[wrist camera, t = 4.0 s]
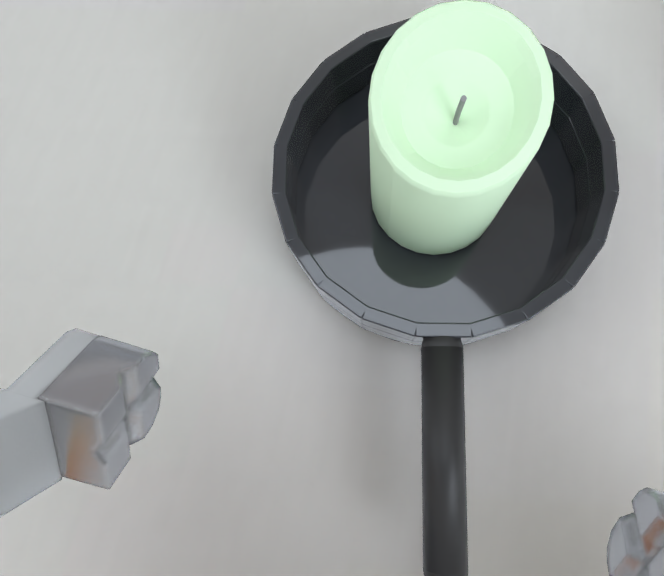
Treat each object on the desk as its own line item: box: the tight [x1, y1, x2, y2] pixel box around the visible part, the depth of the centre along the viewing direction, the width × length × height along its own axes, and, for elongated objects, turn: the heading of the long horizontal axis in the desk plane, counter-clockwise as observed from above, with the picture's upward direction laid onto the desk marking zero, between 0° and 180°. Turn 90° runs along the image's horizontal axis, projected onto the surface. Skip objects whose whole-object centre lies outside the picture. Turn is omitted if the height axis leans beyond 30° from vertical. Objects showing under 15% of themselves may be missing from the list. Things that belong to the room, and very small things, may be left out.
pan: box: [272, 18, 619, 345], centre depth 22 cm, size 12×12×3 cm
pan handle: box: [421, 336, 468, 576], centre depth 19 cm, size 8×1×1 cm, turn 179°
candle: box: [368, 0, 554, 255], centre depth 19 cm, size 5×5×8 cm
